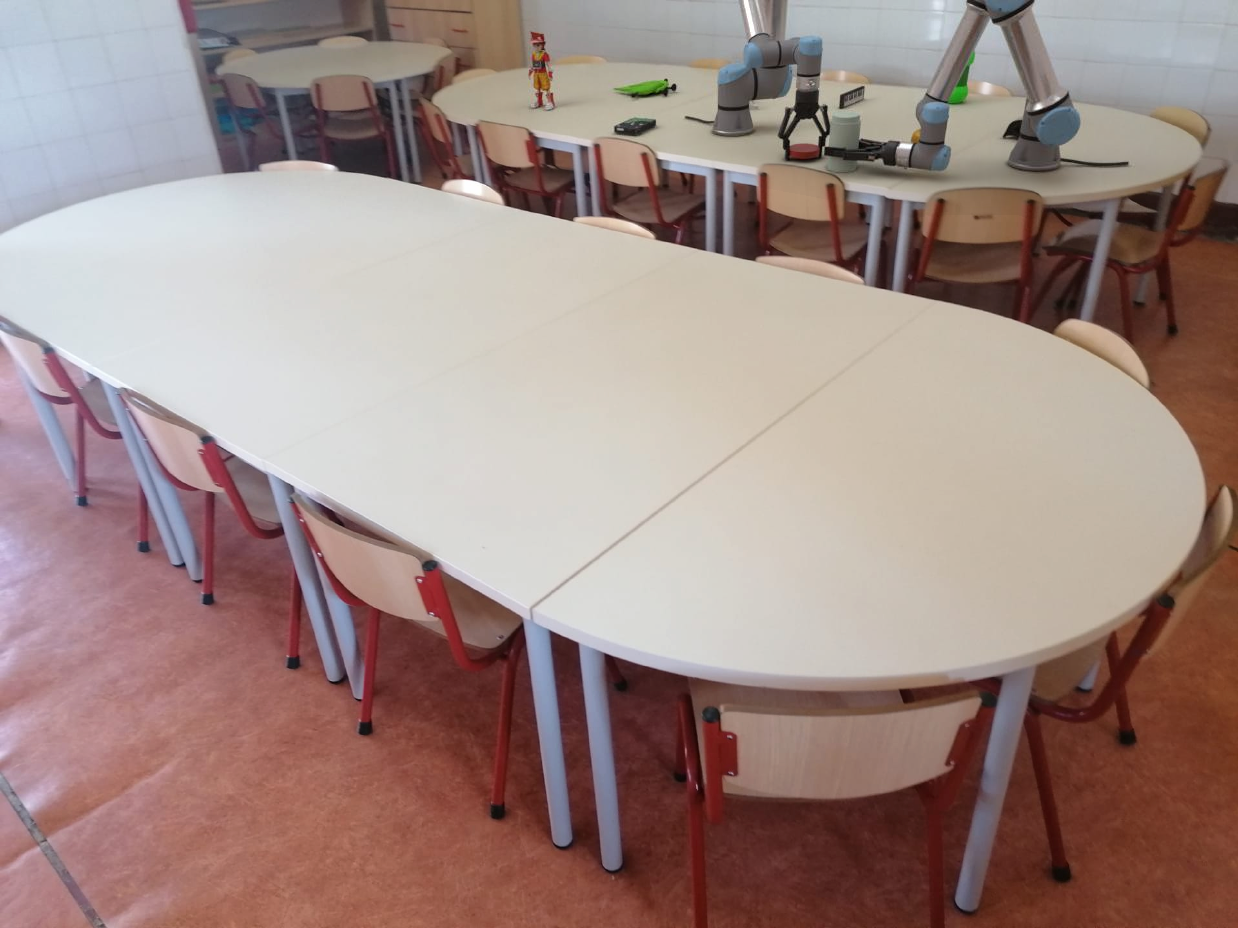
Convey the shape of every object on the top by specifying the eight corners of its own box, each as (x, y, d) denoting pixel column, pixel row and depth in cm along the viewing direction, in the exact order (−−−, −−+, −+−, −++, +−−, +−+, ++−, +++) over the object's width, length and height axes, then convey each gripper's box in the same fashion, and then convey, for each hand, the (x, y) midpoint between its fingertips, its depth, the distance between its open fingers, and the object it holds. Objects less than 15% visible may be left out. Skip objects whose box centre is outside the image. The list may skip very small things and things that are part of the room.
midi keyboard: (841, 108, 355) (842, 95, 352) (838, 108, 356) (840, 94, 353) (863, 99, 366) (865, 86, 363) (860, 98, 366) (862, 86, 364)
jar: (825, 164, 298) (829, 111, 288) (853, 163, 297) (858, 110, 287) (829, 173, 290) (833, 118, 280) (858, 172, 289) (864, 117, 280)
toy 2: (686, 85, 398) (631, 84, 414) (685, 72, 395) (629, 72, 411) (651, 104, 381) (596, 103, 397) (650, 92, 378) (594, 91, 394)
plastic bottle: (973, 101, 354) (984, 32, 339) (955, 106, 349) (966, 36, 335) (952, 97, 361) (962, 29, 346) (934, 102, 356) (944, 33, 342)
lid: (818, 159, 298) (819, 152, 297) (786, 158, 300) (787, 152, 299) (820, 150, 306) (820, 143, 305) (788, 149, 308) (789, 143, 307)
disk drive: (637, 136, 338) (656, 126, 348) (636, 129, 336) (656, 118, 346) (613, 134, 342) (633, 123, 352) (613, 126, 341) (633, 116, 351)
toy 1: (525, 109, 381) (517, 32, 364) (534, 104, 388) (527, 28, 371) (550, 110, 377) (543, 32, 360) (559, 105, 384) (553, 28, 367)
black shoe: (1032, 109, 328) (1056, 91, 320) (1046, 130, 329) (1070, 113, 320) (998, 131, 311) (1023, 113, 303) (1012, 153, 311) (1038, 136, 303)
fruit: (905, 142, 301) (920, 120, 298) (906, 145, 309) (921, 124, 306) (926, 156, 300) (941, 134, 296) (927, 158, 307) (942, 137, 304)
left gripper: (775, 94, 288) (772, 164, 300) (845, 89, 289) (839, 158, 301) (770, 89, 294) (767, 157, 307) (839, 84, 295) (833, 152, 308)
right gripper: (885, 176, 276) (816, 168, 286) (907, 156, 291) (841, 149, 302) (888, 151, 272) (818, 144, 282) (910, 132, 287) (843, 126, 297)
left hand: (803, 158), depth 304 cm, fingers closed on lid, 11 cm apart
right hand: (830, 147), depth 292 cm, fingers closed on jar, 9 cm apart
